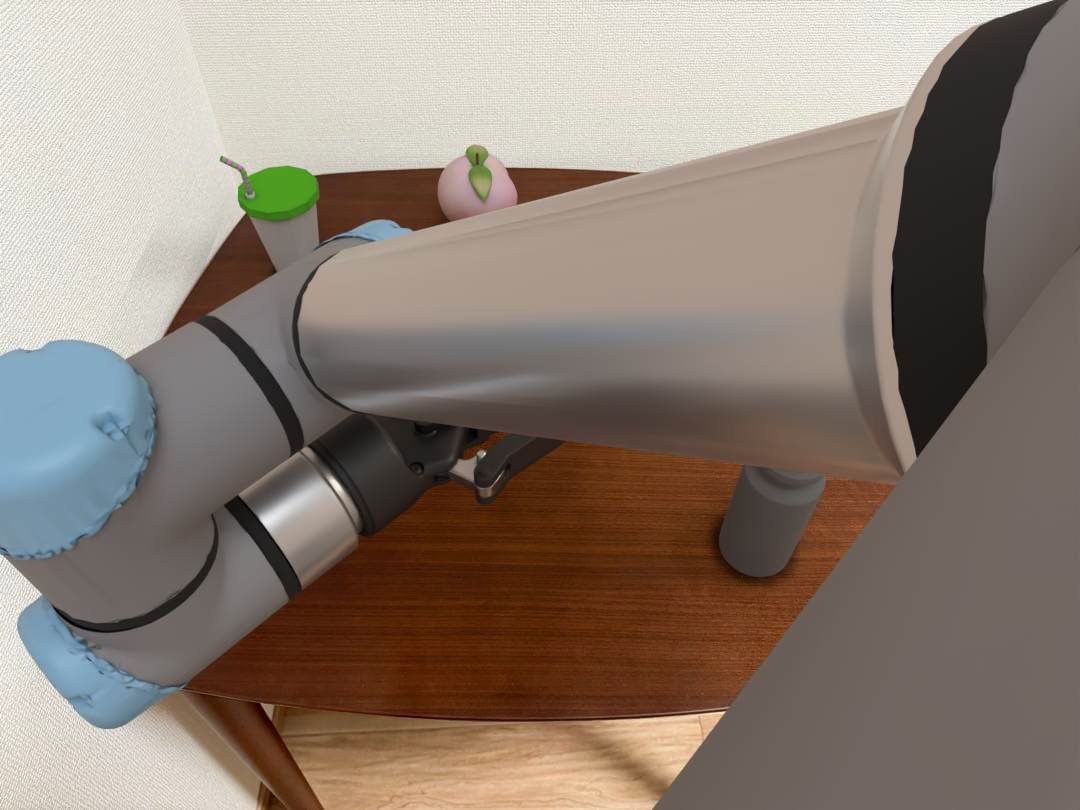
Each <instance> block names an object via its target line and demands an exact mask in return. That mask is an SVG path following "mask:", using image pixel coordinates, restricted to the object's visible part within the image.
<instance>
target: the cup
mask: <svg viewBox="0 0 1080 810" xmlns="http://www.w3.org/2000/svg"><path fill="white" fill-rule="evenodd" d="M219 162H220V163H223V164H224V165H226V166H229V167H230V168H232V169H234V170H236V171H238V172H239V173H240V176H241V180H242V182H241V183H240V184H239V186H238V187H237V201H238V205H239V207H240V209H241V210H243V212H245V214H246V215H248V217H249V219H250V221H251V223H252V226H254V229H255V231H256V232H257V233H256V234H257V235H258V237H259V239H260V241H261V242H262V245H263V247H264V249H265V251H266V253H267V256H268V257H269V259H270V261H271V263H272V265H273V267H274V269H275V271H276V273H277V272H279V271H281V270H283V269H284V268H286V267H288V266H289V265H291V264H293V263H294V262H296V261H298V260H299V259H301V258H303V257H304V256H306V255H308V254H309V253H311V251H312V250H313V248H315V247H316V246H317V245H319V244H320V237H319V236H320V235H319V224H318V210H317V202H318V201H319V200H320V186H319V181H318V178H317V177H316V176H315V175H313V173H311V172H310V171H309V170H308V169H306V168H300V167H296V166H292V165H281V166H271V167H266V168H263V169H261V170H258V171H257V172H255V173H252V174H249V175H248V172H247V170H246V168H244V166H243V165H242V164H239V163H237V162H235V161H233V160H232V159H229V158H227V157H225V156H223V155H220V157H219Z"/></svg>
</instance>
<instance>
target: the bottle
mask: <svg viewBox="0 0 1080 810" xmlns="http://www.w3.org/2000/svg"><path fill="white" fill-rule="evenodd" d="M826 484H827V476H825V475H817V474H810V473H802V472H795V471H788V470H780V469H773V468H765V467H758V466H751V465H743V464H742V467H741V471H740V473H739V476H738V479H737V481H736V484H735V486H734V490H733V493H732V495H731V498H730V502H729V504H728V507H727V510H726V513H725V516H724V519H723V521H722V524H721V527H720V531H719V535H718V546H719V550H720V553H721V555H722V558H723V559H724V560H725V561H726V562H727V564H728V565H729V566H731V568H733V569H734V570H736V571H737V572H739V573H741V574H742V575H743V574H744V575H746V576H749V577H754V578H766V577H771V576H774V575H777V574H778V573H779V572H781V571H782V570H783V569H785V567H786V566H787V565H788V563H789V561H790V559H791V557H792V555H793V553H794V551H795V549H796V547H797V546H798V544H799V542H800V540H801V538H802V536H803V534H804V532H805V530H806V528H807V526H808V524H809V522H810V520H811V518H812V516H813V513H814V511H815V510H816V508H817V505H818V504H819V501H820V499H821V497H822V496H823V493H824V491H825V488H826Z"/></svg>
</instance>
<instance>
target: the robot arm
mask: <svg viewBox="0 0 1080 810" xmlns="http://www.w3.org/2000/svg"><path fill="white" fill-rule="evenodd" d="M498 433H506V434H507V435H504V436H503V437H502V438H501V439H499V440H498V441H497V442H495V443H494V444H493V445H492V446H491V447H490V448H489V449H488V450H487V451H486V450H483V449H480V450H478V451H477V452H476V454H475V455H474V456H473V457H471V458H469V459H463V457H464V453H465V451H466V450H469V449H472V448H475V447H477V446H480V445H482V444H483V445H484V443H486V442H487V441H488V440H489V439H490V438H491V436H494V435H495V434H498ZM566 442H573V443H580V444H581V443H582V444H588V445H595V446H602V447H610V448H618V449H619V448H620V449H626V450H633V451H640V452H648V453H655V454H662V455H670V456H676V457H684V458H685V457H686V458H690V459H691V458H692V459H699V460H705V461H713V462H721V463H729V464H736V465H742V466H743V465H751V466H758V467H765V468H773V469H780V470H788V471H795V472H802V473H810V474H817V475H825V476H826V477H834V478H840V479H848V480H853V481H854V480H855V481H863V482H871V483H877V484H885V485H893V486H895V487H894V488H893V489H892V490H891V492H890V493H889V494H888V495H887V497H886V499H885V500H884V501H883V502H882V504H881V505H880V506H879V508H878V509H877V510H876V512H875V513H874V514H873V515H872V517H871V518H870V519H869V520H868V522H867V523H866V525H865V526H864V528H863V529H862V530H861V532H860V533H859V534H858V535H857V537H856V538H855V539H854V541H853V542H852V544H850V546H849V547H848V549H847V550H846V552H845V553H844V554H843V556H841V558H840V559H839V561H838V562H837V563H836V565H834V567H833V569H832V570H831V571H830V573H829V574H828V576H826V578H825V580H824V581H823V582H822V583H821V585H820V586H819V587H818V588H817V589H816V591H815V592H814V594H813V595H812V596H811V598H810V599H809V601H807V603H806V605H804V607H803V609H802V610H801V611H800V612H799V614H798V615H797V616H796V618H795V619H794V620H793V621H792V623H791V624H790V625H789V627H788V628H787V629H786V631H785V632H784V634H783V635H782V636H781V638H780V639H779V640H778V642H777V643H776V644H775V645H774V647H773V648H772V649H771V651H770V653H769V654H768V655H767V656H766V657H765V658H764V660H763V661H762V662H761V664H760V665H759V667H758V668H757V669H756V670H755V672H754V673H753V675H752V676H751V678H750V679H749V680H748V681H747V683H746V684H745V685H744V687H743V688H742V689H741V690H740V692H739V693H738V695H737V696H736V697H735V699H734V700H733V701H732V702H731V704H730V705H729V707H728V708H727V709H726V710H725V712H724V713H723V715H722V716H721V717H720V719H719V720H718V721H717V722H716V724H715V725H714V727H713V728H712V729H711V730H710V732H709V733H708V734H707V736H706V737H705V738H704V740H703V741H702V743H700V745H699V747H698V748H697V749H696V750H695V752H693V754H692V755H691V757H690V758H689V760H688V761H687V762H686V763H685V765H684V766H683V767H682V769H681V770H680V771H679V773H678V774H677V776H676V777H675V778H674V780H673V781H672V782H671V784H670V785H669V786H668V787H667V789H666V790H665V791H664V793H662V795H661V796H660V798H659V799H658V801H657V802H656V803H655V804H654V806H653V807H652V809H651V810H1080V0H1049V1H1045V2H1042V3H1039V4H1036V5H1033V6H1030V7H1026V8H1023V9H1021V10H1017V11H1014V12H1010V13H1008V14H1005V15H1002V16H998V17H995V18H992V19H989V20H986V21H984V22H981V23H978V24H975V25H973V26H971V27H969V28H967V29H966V30H964V31H963V32H961V33H959V34H958V35H956V36H955V37H953V38H952V39H951V40H950V42H948V43H947V44H946V45H945V46H944V47H943V48H942V49H941V50H940V51H939V52H938V53H936V55H935V56H934V58H933V60H932V61H931V63H930V64H929V65H928V67H927V68H926V70H925V71H924V73H923V74H922V76H921V77H920V79H919V80H918V82H917V83H916V86H915V87H914V89H913V91H912V92H911V93H910V96H909V97H908V98H907V100H906V102H905V104H904V105H902V106H899V107H894V108H890V109H886V110H883V111H879V112H875V113H871V114H868V115H867V114H866V115H863V116H859V117H856V118H852V119H847V120H843V121H841V122H836V123H832V124H829V125H823V126H821V127H820V126H819V127H816V128H812V129H809V130H808V129H807V130H804V131H801V132H796V133H793V134H789V135H785V136H780V137H777V138H774V139H769V140H766V141H761V142H757V143H754V144H750V145H746V146H742V147H737V148H735V149H730V150H726V151H721V152H719V153H715V154H711V155H707V156H703V157H699V158H695V159H691V160H687V161H684V162H680V163H676V164H672V165H668V166H663V167H660V168H657V169H652V170H648V171H645V172H641V173H636V174H633V175H629V176H625V177H621V178H617V179H614V180H609V181H606V182H602V183H599V184H598V183H597V184H594V185H590V186H586V187H582V188H577V189H574V190H570V191H566V192H562V193H559V194H555V195H551V196H546V197H542V198H539V199H536V200H532V201H528V202H524V203H519V204H517V205H515V206H511V207H508V208H504V209H500V210H496V211H492V212H488V213H484V214H480V215H476V216H472V217H469V218H465V219H461V220H457V221H453V222H451V221H449V222H446V223H442V224H438V225H435V226H434V225H433V226H430V227H426V228H422V229H418V230H412V229H411V228H407V227H401V226H400V225H399V224H398V223H396V222H395V221H392V220H390V219H375V220H371V221H367V222H365V223H363V224H361V225H359V226H357V227H355V228H353V229H351V230H349V231H347V232H342V233H339V234H337V235H335V236H333V237H331V238H329V239H326V240H324V241H322V242H321V243H319V245H317V246H316V247H315V248H313V250H312V251H311V253H309V254H308V255H306V256H304V257H303V258H301V259H299V260H298V261H296V262H294V263H293V264H291V265H289V266H288V267H286V268H284V269H283V270H281V271H279V272H277V271H276V272H275V273H274V274H273V275H271V276H269V277H267V278H266V279H263V280H262V281H260V282H258V283H257V284H256V285H254V286H252V287H250V288H248V289H247V290H245V291H244V292H242V293H240V294H239V295H237V296H235V297H234V298H232V299H230V300H229V301H227V302H225V303H223V304H222V305H220V306H219V307H216V308H215V309H214V310H211V312H209V313H206V314H202V315H201V316H199V317H198V318H196V319H195V320H193V321H189V322H188V323H186V324H184V325H182V326H181V327H179V328H177V329H176V330H174V331H172V332H170V333H169V334H167V335H165V336H164V337H162V338H160V339H158V340H157V341H154V342H153V343H152V344H150V345H148V346H146V347H144V348H142V349H141V350H138V351H137V352H135V353H133V354H132V355H130V356H128V357H127V358H125V357H122V356H121V354H119V353H118V352H116V351H114V350H112V349H110V348H109V347H106V346H104V345H101V344H98V343H95V342H90V341H86V340H82V339H81V340H79V339H55V340H50V341H48V342H47V343H45V344H44V345H43V346H42V347H41V348H37V349H30V350H29V349H24V348H21V347H19V348H16V349H12V350H10V351H7V352H4V353H3V354H1V355H0V555H1V556H3V557H4V558H5V559H6V560H7V561H8V562H9V563H10V564H11V565H12V566H13V567H14V568H15V569H16V570H17V571H18V572H19V573H20V574H21V575H22V576H23V577H24V578H25V579H26V580H27V581H28V582H29V583H30V584H31V585H32V586H33V587H34V588H35V589H36V590H37V591H38V592H39V593H40V594H41V595H40V596H39V597H37V598H36V599H35V600H34V601H33V602H31V603H30V604H28V605H27V606H25V608H24V609H23V610H22V611H21V613H20V614H19V616H18V617H17V621H16V630H17V634H18V635H19V639H20V641H21V643H22V644H23V646H24V647H25V649H26V651H27V653H28V654H29V656H30V657H31V658H32V660H33V661H34V663H35V665H36V666H37V667H38V669H39V670H40V671H41V673H42V674H43V675H44V677H45V678H46V679H47V680H48V682H49V683H50V685H51V686H52V687H53V688H54V689H55V690H56V692H57V693H58V694H59V695H60V696H61V698H63V699H65V700H66V701H67V702H68V703H69V704H70V705H71V706H72V708H73V710H74V711H75V712H76V713H77V714H78V716H79V717H80V718H82V719H84V721H85V722H87V723H88V724H90V725H91V726H93V727H95V728H98V729H102V730H115V729H118V728H121V727H124V726H125V725H127V724H129V723H131V722H132V721H134V720H135V719H136V718H138V717H139V716H140V715H141V714H143V713H144V712H146V711H148V710H149V709H150V708H151V707H153V706H154V705H155V704H157V703H158V702H160V701H161V700H162V699H164V698H166V697H167V696H168V695H171V694H174V693H176V692H179V691H181V690H182V689H183V688H185V687H186V686H187V685H188V684H189V683H190V681H191V680H192V679H194V677H196V676H197V675H199V674H200V673H202V672H203V670H205V669H207V668H208V666H210V665H212V663H213V662H215V661H216V660H217V659H219V658H220V657H221V656H222V655H224V654H225V653H226V652H227V651H229V650H230V649H231V648H232V647H234V646H235V645H237V643H239V642H240V641H241V640H242V639H244V638H245V637H247V636H248V635H249V634H250V633H251V632H252V631H254V630H255V629H256V628H257V627H259V626H261V624H263V623H264V622H265V621H266V620H268V618H270V617H271V616H272V615H273V614H275V613H276V612H277V611H279V610H280V609H281V608H283V607H284V606H285V605H286V604H287V603H289V602H290V600H291V599H293V598H294V597H296V596H297V595H298V594H299V593H301V592H303V591H304V590H305V589H306V588H308V587H309V586H310V585H312V584H313V583H314V582H315V581H316V580H318V579H319V578H321V577H322V576H323V575H324V574H325V573H328V571H330V570H331V569H332V568H333V567H335V566H336V565H337V564H338V563H340V562H342V561H343V560H344V559H345V558H346V557H348V556H349V555H350V554H351V553H353V552H354V551H356V550H357V549H358V548H359V540H360V537H364V538H366V537H370V538H371V537H374V536H376V535H377V534H378V533H379V532H381V531H382V530H383V529H385V528H386V527H387V526H389V525H390V524H391V523H393V522H394V521H395V520H397V519H398V518H399V517H400V516H402V515H403V514H404V513H406V512H407V511H408V510H410V509H411V508H413V506H414V505H415V504H416V503H417V502H418V501H419V499H420V498H421V497H422V496H423V495H424V494H425V493H426V492H427V491H429V490H430V489H433V488H435V487H438V486H443V485H446V484H449V483H451V482H452V481H453V482H454V483H457V484H459V485H461V486H463V487H465V488H467V489H469V490H471V491H473V492H474V495H475V497H474V498H475V500H476V502H477V503H479V504H480V505H483V506H489V505H491V504H493V503H494V502H495V501H496V499H497V498H498V497H499V495H500V494H501V493H502V491H503V490H504V488H505V487H506V486H507V484H508V483H509V482H510V480H512V479H513V478H515V477H516V476H518V475H519V474H520V473H522V472H524V471H525V470H526V469H528V468H529V467H531V466H532V465H534V464H535V463H537V462H538V461H540V460H541V459H543V458H544V457H545V456H547V455H549V454H550V453H552V452H553V451H555V450H556V449H557V448H559V447H560V446H562V445H563V444H565V443H566Z"/></svg>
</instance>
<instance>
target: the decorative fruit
mask: <svg viewBox="0 0 1080 810" xmlns="http://www.w3.org/2000/svg"><path fill="white" fill-rule="evenodd" d="M437 199H438V203H439V206H440V209H441V210H442V212H443V215H444V216H445V217H446V218H447V220H448V221H449V222H453V221H457V220H461V219H465V218H469V217H472V216H476V215H480V214H484V213H488V212H492V211H496V210H500V209H504V208H508V207H511V206H515V205H518V192H517V189H516V186H515V184H514V182H513V180H512V179H511V178H510V176H509V172H508V170H507V168H506V166H505V164H504V163H503V162H502V161H501V159H499V158H498V157H497V156H495V155H493V154H491V153H489V150H488V149H487V148H486V147H485V146H483V145H480V144H471V145H469V146H468V147H467V148H466V150H465V154H463V155H461V156H458V157H457V158H455V159H453V160H452V161H450V162H449V163H448V164H447V165H446V166H445V168H444V169H443V170H442V172H441V174H440V176H439V179H438V183H437Z"/></svg>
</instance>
